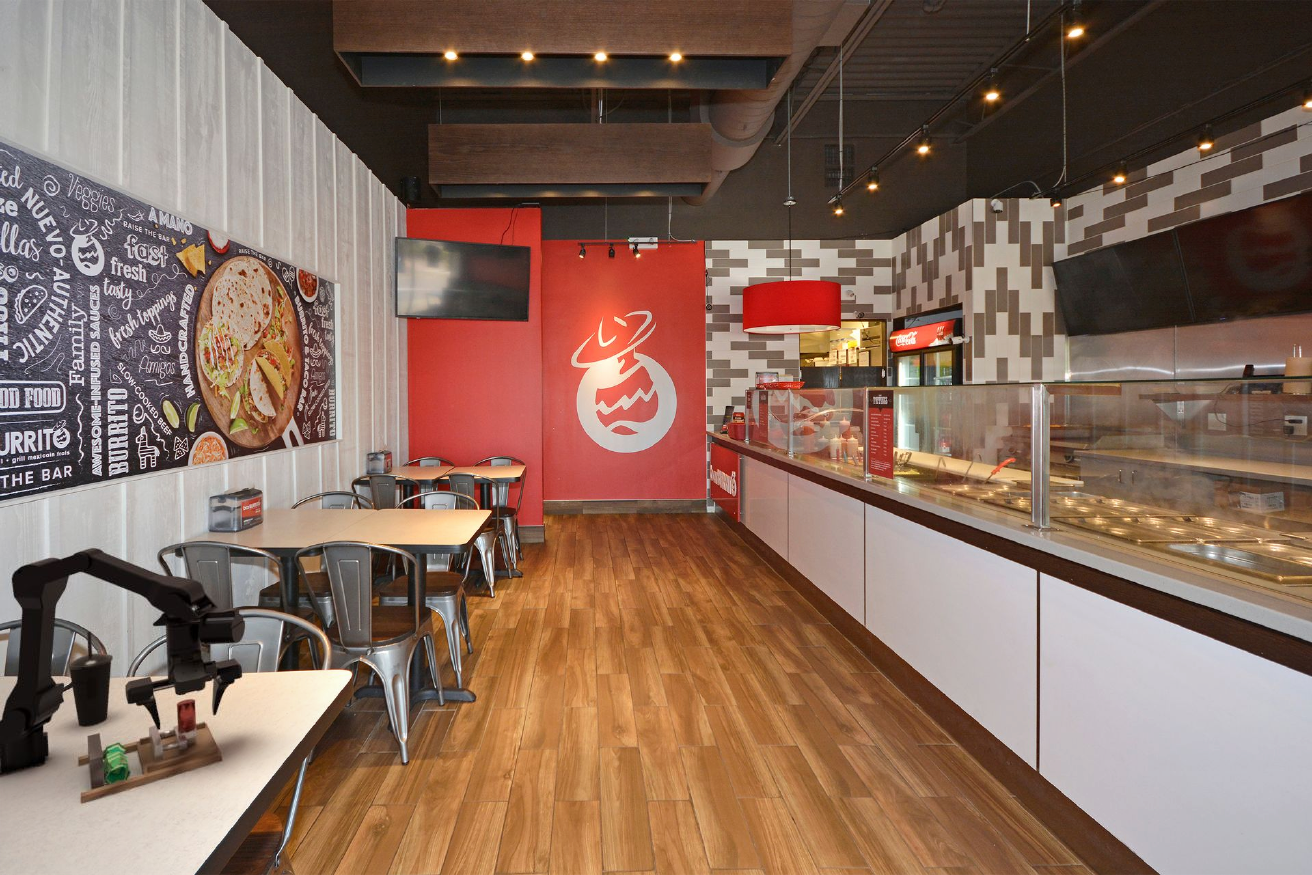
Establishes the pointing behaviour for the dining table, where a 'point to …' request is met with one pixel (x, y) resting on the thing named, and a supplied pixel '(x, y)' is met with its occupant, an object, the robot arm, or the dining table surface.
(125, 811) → the dining table surface
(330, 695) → the dining table surface
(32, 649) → the robot arm
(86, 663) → the drinking cup
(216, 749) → the wooden vise
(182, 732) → the lever
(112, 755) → the candy
